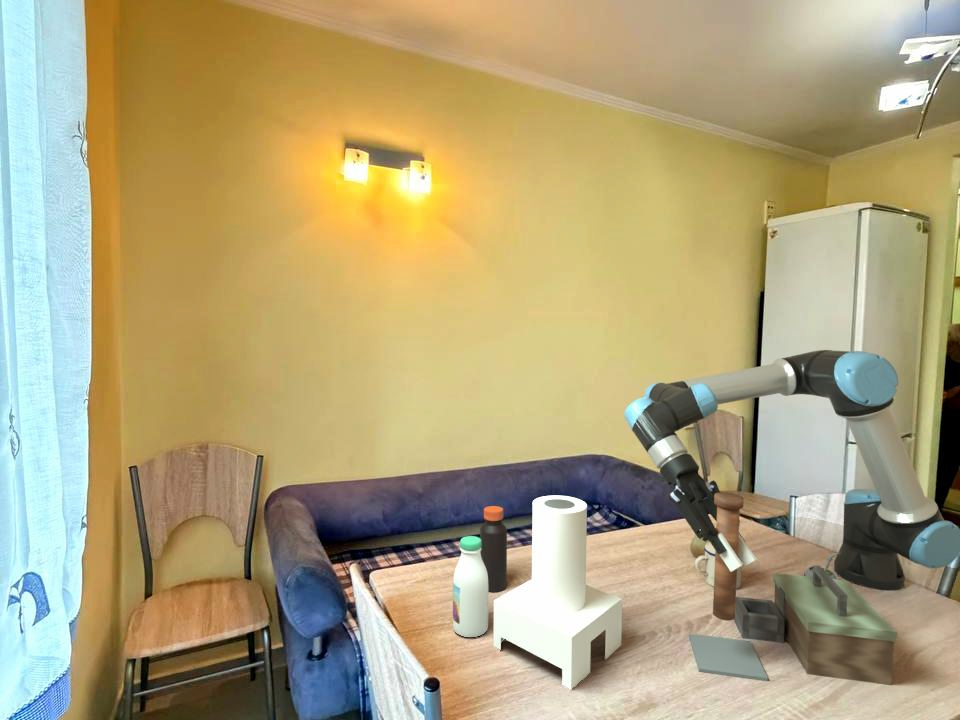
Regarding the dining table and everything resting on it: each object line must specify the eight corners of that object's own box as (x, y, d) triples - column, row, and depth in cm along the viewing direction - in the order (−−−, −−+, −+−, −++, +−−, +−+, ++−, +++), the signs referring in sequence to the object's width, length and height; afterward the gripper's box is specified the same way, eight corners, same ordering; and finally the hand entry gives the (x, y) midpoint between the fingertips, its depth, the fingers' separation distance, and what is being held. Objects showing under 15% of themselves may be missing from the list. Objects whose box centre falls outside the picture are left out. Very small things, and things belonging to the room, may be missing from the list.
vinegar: (475, 589, 133) (476, 511, 131) (485, 578, 139) (486, 503, 138) (501, 595, 130) (501, 515, 129) (510, 582, 136) (510, 506, 135)
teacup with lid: (728, 573, 142) (730, 531, 141) (749, 590, 133) (751, 545, 132) (686, 575, 141) (687, 533, 140) (704, 592, 132) (705, 547, 131)
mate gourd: (807, 593, 131) (809, 534, 131) (844, 605, 126) (847, 543, 125) (798, 604, 126) (800, 542, 125) (837, 617, 121) (839, 553, 120)
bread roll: (750, 561, 150) (751, 533, 149) (702, 565, 147) (703, 537, 146) (728, 547, 159) (729, 521, 159) (683, 551, 156) (683, 525, 156)
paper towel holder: (493, 647, 109) (494, 504, 107) (547, 612, 122) (548, 484, 121) (571, 690, 96) (573, 528, 94) (621, 645, 110) (624, 503, 108)
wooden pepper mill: (734, 609, 107) (739, 493, 106) (741, 623, 102) (746, 501, 100) (707, 606, 108) (711, 491, 107) (712, 620, 103) (717, 499, 102)
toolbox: (843, 625, 117) (846, 561, 116) (894, 686, 97) (898, 609, 96) (730, 612, 122) (732, 551, 122) (756, 667, 102) (758, 595, 101)
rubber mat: (749, 643, 110) (749, 641, 110) (767, 681, 99) (767, 677, 98) (688, 636, 113) (688, 633, 113) (698, 671, 101) (699, 668, 101)
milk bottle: (492, 623, 118) (493, 535, 116) (481, 642, 110) (482, 548, 109) (460, 616, 120) (460, 530, 119) (447, 635, 113) (447, 543, 112)
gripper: (687, 465, 121) (755, 563, 108) (636, 476, 112) (703, 584, 99) (709, 447, 116) (782, 547, 103) (657, 456, 107) (731, 567, 94)
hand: (743, 565), depth 101 cm, fingers closed on wooden pepper mill, 4 cm apart
